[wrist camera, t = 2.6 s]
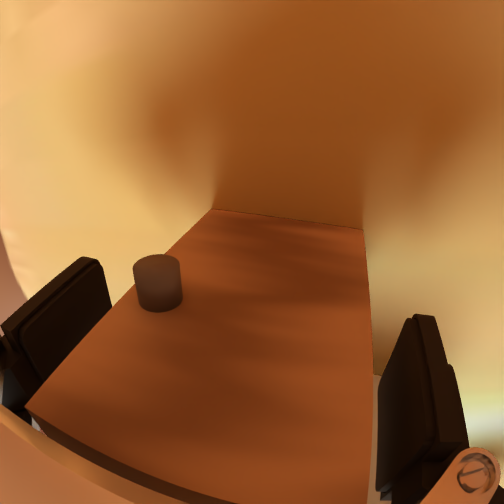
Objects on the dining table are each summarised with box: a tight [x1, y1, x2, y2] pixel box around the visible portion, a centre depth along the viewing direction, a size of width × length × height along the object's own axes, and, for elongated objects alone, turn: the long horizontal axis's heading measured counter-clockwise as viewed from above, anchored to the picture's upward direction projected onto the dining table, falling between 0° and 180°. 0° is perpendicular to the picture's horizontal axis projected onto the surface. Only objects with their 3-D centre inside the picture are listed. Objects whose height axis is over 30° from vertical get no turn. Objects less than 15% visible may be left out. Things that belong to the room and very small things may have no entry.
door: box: [24, 209, 373, 504], centre depth 9 cm, size 6×4×11 cm, turn 88°
